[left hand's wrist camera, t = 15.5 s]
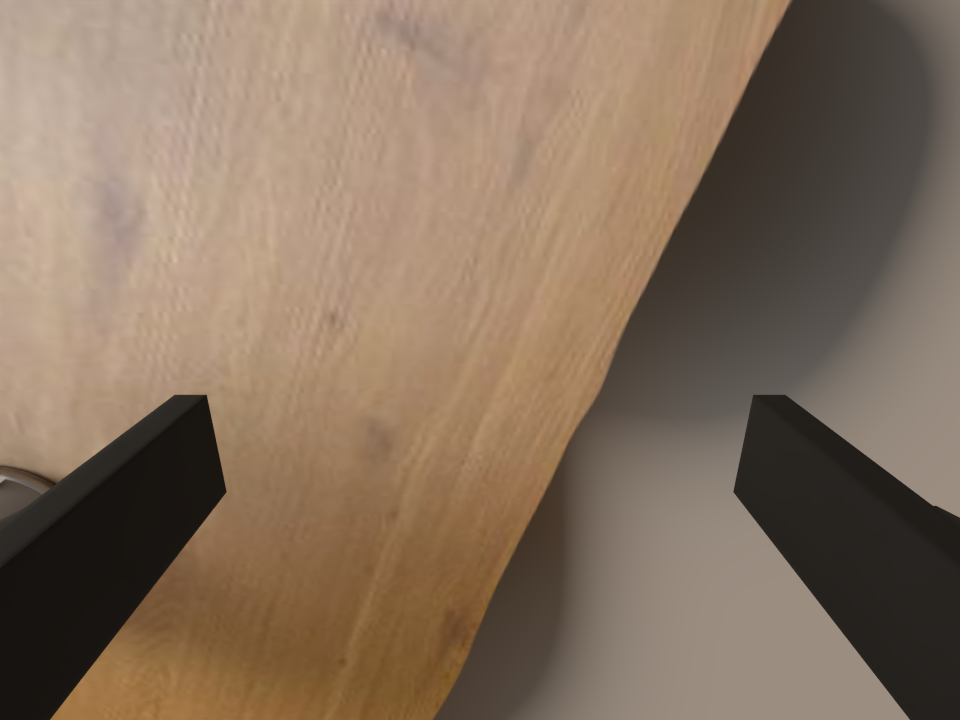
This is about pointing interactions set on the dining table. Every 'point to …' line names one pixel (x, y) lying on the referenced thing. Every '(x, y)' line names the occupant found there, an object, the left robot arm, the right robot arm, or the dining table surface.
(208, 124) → the dining table surface
